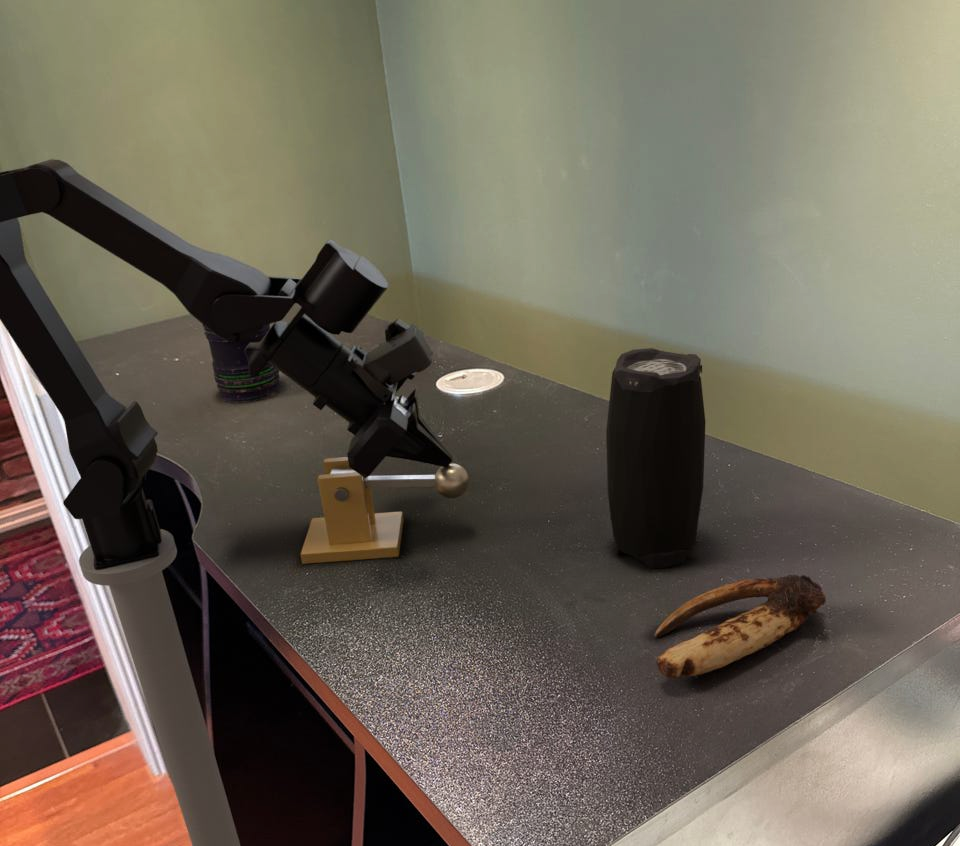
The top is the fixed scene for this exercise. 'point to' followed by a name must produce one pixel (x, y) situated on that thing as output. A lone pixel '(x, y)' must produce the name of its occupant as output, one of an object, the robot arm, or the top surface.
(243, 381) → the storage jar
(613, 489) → the portable speaker
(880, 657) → the top surface
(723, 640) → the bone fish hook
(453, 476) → the tap lever
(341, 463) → the tap bracket
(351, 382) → the robot arm
